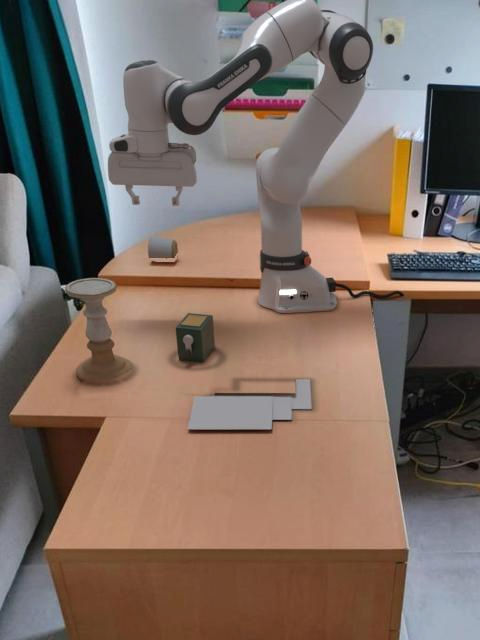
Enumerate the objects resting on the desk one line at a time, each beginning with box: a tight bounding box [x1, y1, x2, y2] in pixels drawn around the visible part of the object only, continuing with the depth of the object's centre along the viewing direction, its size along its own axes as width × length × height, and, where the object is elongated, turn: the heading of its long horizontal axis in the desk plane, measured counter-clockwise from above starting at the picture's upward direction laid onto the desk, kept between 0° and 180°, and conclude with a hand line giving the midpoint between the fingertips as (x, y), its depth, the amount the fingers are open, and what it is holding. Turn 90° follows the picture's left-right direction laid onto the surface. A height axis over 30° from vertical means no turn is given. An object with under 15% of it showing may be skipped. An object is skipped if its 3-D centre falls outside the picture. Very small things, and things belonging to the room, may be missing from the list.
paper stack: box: [186, 378, 313, 431], centre depth 153 cm, size 23×25×1 cm
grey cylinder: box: [147, 236, 179, 259], centre depth 227 cm, size 11×8×8 cm
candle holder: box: [64, 277, 133, 382], centre depth 157 cm, size 12×12×20 cm
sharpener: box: [174, 312, 216, 363], centre depth 167 cm, size 12×6×8 cm, turn 172°
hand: (156, 204), depth 173 cm, fingers open, 8 cm apart
